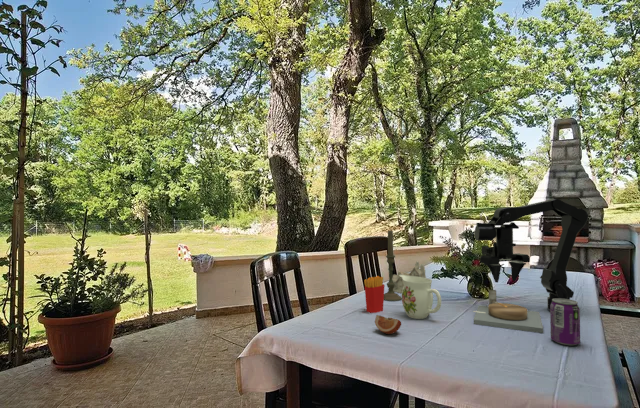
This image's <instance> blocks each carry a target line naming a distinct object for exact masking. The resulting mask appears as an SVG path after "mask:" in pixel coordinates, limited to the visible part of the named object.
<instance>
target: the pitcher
mask: <svg viewBox="0 0 640 408" xmlns="http://www.w3.org/2000/svg"><path fill="white" fill-rule="evenodd" d="M399 276H400V277H401V278H402V279H403V284H404V286H403V289H402V293H401V298H402V299H401V303H402V307H403V309H404V312H405V314H406V315H407V317H409V318H410V319H417V320H424V319H427V318H428V316H429V315H430V314H435V313H437V312H438V311H440V310H441V306H442V296H441V294H440V292H439V291H438V290H437V289H436V288H432V282H433V280H432V279H430V278H427V277H426V278H423V277H416V276H408V275H399ZM433 294H435V296H436V299H437V302H436V303H437V304H436V306H435V307H434V308H433V304H434V303H433V302H434V295H433ZM432 308H433V309H432Z"/></svg>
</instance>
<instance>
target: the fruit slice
mask: <svg viewBox="0 0 640 408" xmlns="http://www.w3.org/2000/svg"><path fill="white" fill-rule="evenodd" d="M374 323H375V326H376V328H377V330H379V331H380V332H381V333H383V334H386V335H391V334H394V333H396V332H398V330H399V329H400V328H401V326H402V321H400V319H396V318H392V317H385V316H382V315H378V314H377V315H376V316H375V320H374Z"/></svg>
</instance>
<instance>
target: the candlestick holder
mask: <svg viewBox="0 0 640 408" xmlns="http://www.w3.org/2000/svg"><path fill="white" fill-rule="evenodd" d="M385 257H386V258H387V259H386V262H387V263H388V269H387V270H388V278H389V279H388V282H387V283H386V287H387V288H388V291H387V292H384V302H385V301H387V302H399V301H402V295H399V294H398V293H397V292H394V291H393V288H394V286H395V283H393V280H392V278H393V275H394V274H393V271H394V268H393V267H394V266H393V264H394V263H395V258H396V256H395V255H394V230H392V229H390V230H387V255H386V256H385Z"/></svg>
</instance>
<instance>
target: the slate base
mask: <svg viewBox="0 0 640 408" xmlns="http://www.w3.org/2000/svg"><path fill="white" fill-rule="evenodd" d="M472 312H473V313H475V315H474V317H473V325H479V326H486V327H494V328H499V329H500V328H501V329H507V330H508V329H509V330H515V331H522V332H523V331H524V332H531V333H539V334H544V325H543V321H542V318H541V314H540V311H534V310H533V311H532V310H527V319H524V320H507V319H501V318H497V317H494V316H491V315H490V314H489V312H488V305H478V306H477V309H476V310H473V311H472Z"/></svg>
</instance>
